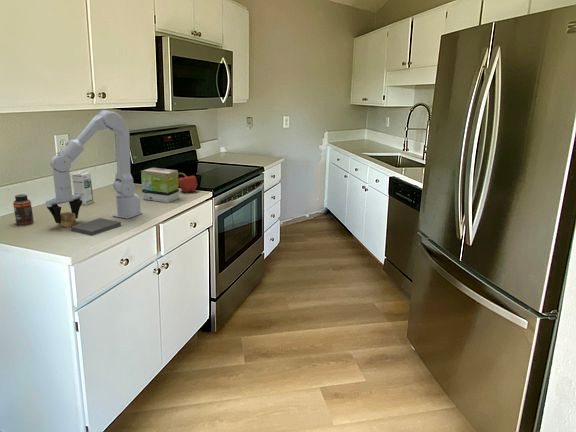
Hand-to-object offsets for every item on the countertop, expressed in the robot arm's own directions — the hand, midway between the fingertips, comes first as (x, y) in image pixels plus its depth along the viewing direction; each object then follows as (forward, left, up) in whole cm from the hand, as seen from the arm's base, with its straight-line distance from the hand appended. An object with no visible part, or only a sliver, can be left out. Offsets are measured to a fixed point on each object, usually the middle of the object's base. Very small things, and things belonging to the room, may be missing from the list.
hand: (66, 220), depth 167 cm
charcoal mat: (-3, +13, -2) cm, 13 cm away
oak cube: (0, 0, -2) cm, 2 cm away
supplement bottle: (+7, -15, -2) cm, 17 cm away
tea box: (-51, +3, -2) cm, 51 cm away
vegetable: (-71, +4, -2) cm, 71 cm away
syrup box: (-26, -21, -2) cm, 33 cm away
